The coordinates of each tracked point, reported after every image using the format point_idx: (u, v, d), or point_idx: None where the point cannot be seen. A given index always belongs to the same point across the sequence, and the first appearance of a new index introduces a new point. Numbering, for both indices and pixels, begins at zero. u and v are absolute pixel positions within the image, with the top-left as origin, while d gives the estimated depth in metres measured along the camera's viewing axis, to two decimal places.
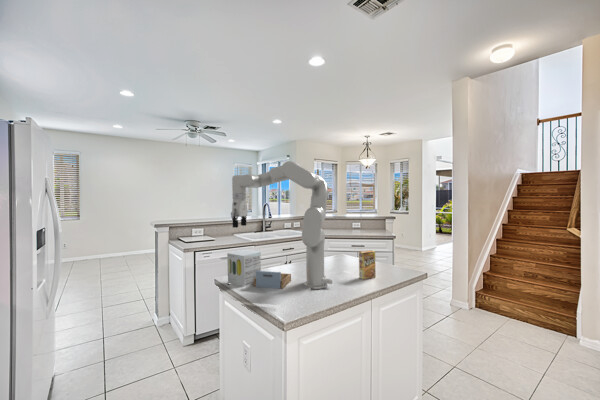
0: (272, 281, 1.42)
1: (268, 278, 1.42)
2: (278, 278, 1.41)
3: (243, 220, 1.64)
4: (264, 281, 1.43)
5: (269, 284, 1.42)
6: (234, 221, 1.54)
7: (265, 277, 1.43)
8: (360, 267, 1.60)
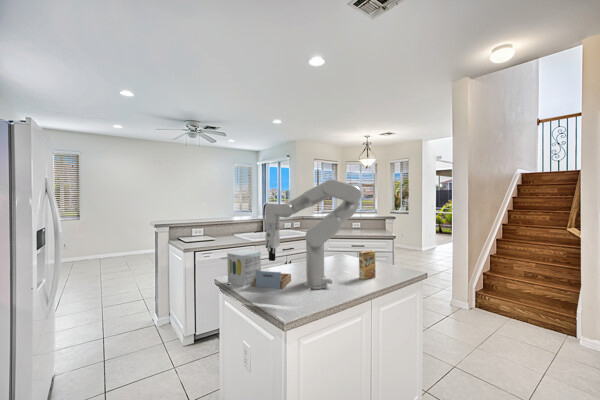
0: (272, 281, 1.42)
1: (268, 278, 1.42)
2: (278, 278, 1.41)
3: None
4: (264, 281, 1.43)
5: (269, 284, 1.42)
6: (271, 254, 1.48)
7: (265, 277, 1.43)
8: (360, 267, 1.60)
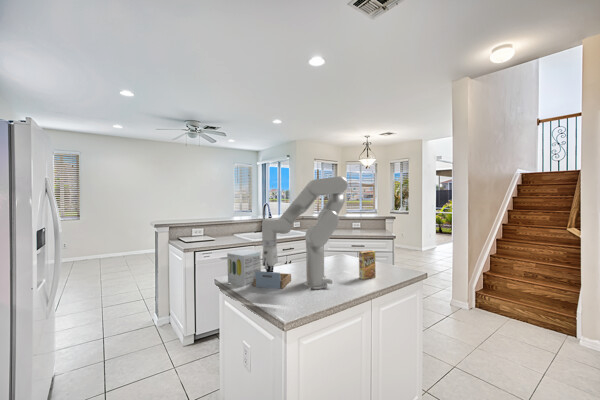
0: (272, 281, 1.41)
1: (268, 278, 1.42)
2: (278, 279, 1.40)
3: None
4: (264, 281, 1.43)
5: (269, 284, 1.42)
6: None
7: (265, 277, 1.42)
8: (360, 267, 1.60)
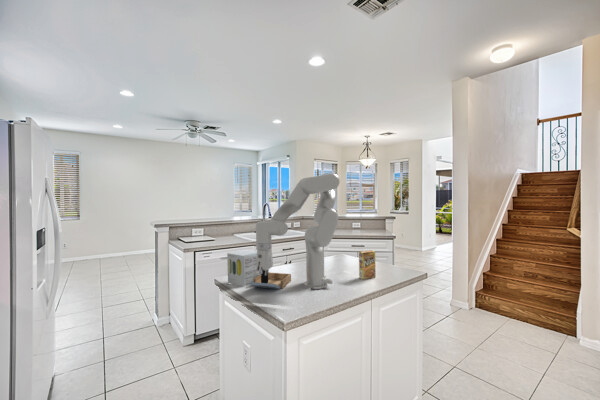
0: (270, 287, 1.39)
1: None
2: (275, 287, 1.37)
3: None
4: (262, 287, 1.41)
5: (268, 287, 1.41)
6: (263, 276, 1.37)
7: None
8: (360, 267, 1.60)
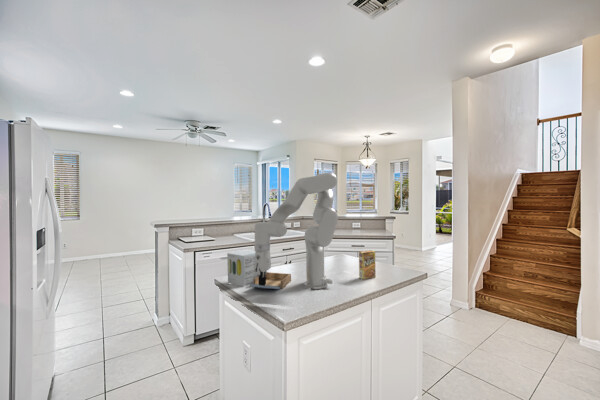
0: (270, 288, 1.39)
1: None
2: (275, 288, 1.36)
3: None
4: None
5: None
6: (261, 278, 1.35)
7: (262, 287, 1.38)
8: (360, 267, 1.60)
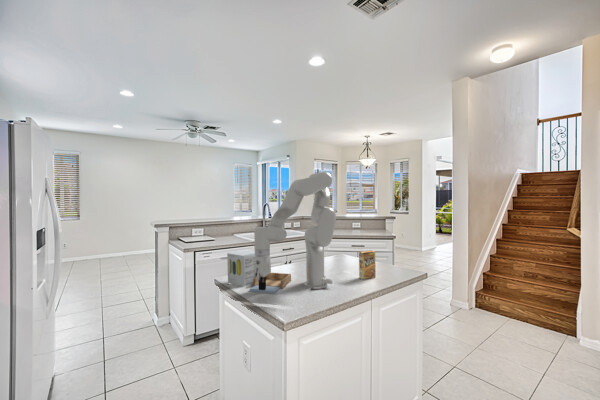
0: None
1: None
2: None
3: None
4: None
5: None
6: (261, 283, 1.35)
7: None
8: (360, 267, 1.60)
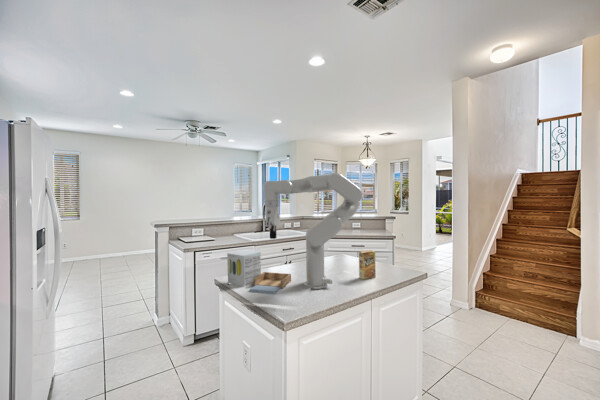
0: None
1: None
2: None
3: None
4: None
5: None
6: (272, 232, 1.47)
7: None
8: (360, 267, 1.60)
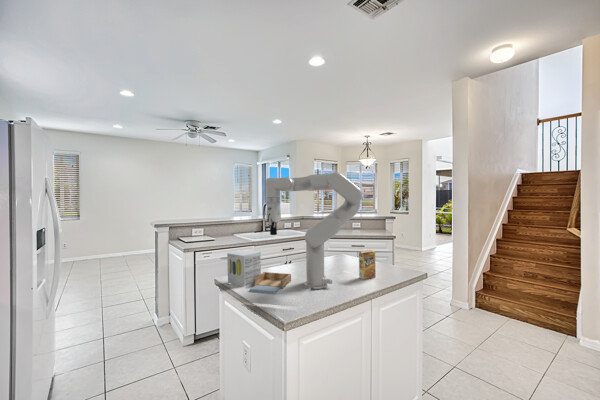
0: None
1: None
2: None
3: None
4: None
5: None
6: (272, 228, 1.49)
7: None
8: (360, 267, 1.60)
